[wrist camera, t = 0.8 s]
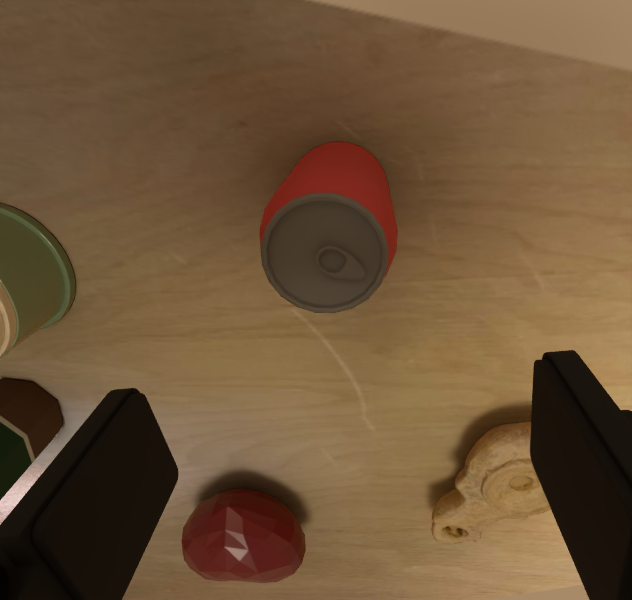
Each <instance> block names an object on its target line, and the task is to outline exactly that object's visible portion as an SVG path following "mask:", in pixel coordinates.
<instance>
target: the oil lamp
mask: <svg viewBox="0 0 632 600" xmlns="http://www.w3.org/2000/svg"><path fill="white" fill-rule="evenodd" d="M530 435H531V422H522V423H515V424H513V423H509V424H503V425H498V426H496V427H494V428H492V429H490V430H488V431H487V432H486V433H485V434H484V435H483V436H482V437H481V438H480V439H479V440H478V441H477V442H476V443H475V445H474V446H473V447H472V449H471V450H470V452H469V454H468V455H467V458H466V461H465V466H464V468H463V469H462V470H461V471H460V472H459V474H458V475H457V477H456V479H455V482H454V483H455V487H456V488H455V489H454V490H453V491H451V492H449V493H447V494H445V495H443V496H442V497H441V498H440V499H439V500H438V501H437V503H436V504H435V507H434V509H433V513H432V521H433V523H432V535H433V537H434V539H435V540H437V541H438V542H441V543H443V544H456V543H461V542H465V541H474V542H476V541H478V540H479V539H480V537H481V533H482V531H483V529H484V528H485V527H487V526H488V525H489V524H491V523H493V522H495V521H498V520H502V519H514V520H525V519H526V518H528V516H529V515H535V514H540V513H544V512H546V511H548V510H550V509H551V508H550V505H549V503H548V501H547V498H546V496H545V494H544V491H543V489H542V486H541V484H540V482H539V479H538V477H537V475H536V472H535V470H534V468H533V465H532V461H531V457H530Z"/></svg>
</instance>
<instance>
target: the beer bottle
mask: <svg viewBox="0 0 632 600" xmlns="http://www.w3.org/2000/svg"><path fill="white" fill-rule="evenodd" d="M62 426H63V420H62V416H61V413H60V409H59V405H58V402H57V400H56V399H54V398H53V397H52V396H51V395H49V394H48V393H47V392H45V391H44V390H43V389H41V388H40V387H39V386H37V385H36V384H35V383H33V382H29V381H21V380H13V379H5V378H4V379H0V500H1V499H2V497H3V496H4V495H5V494H6V493H7V492H8V491H9V489H10V488H11V487H12V486H13V485H14V484H15V482H16V481H17V480H18V479H19V478H20V477H21V475H22V474H23V473H24V472H25V471H26V470H27V468H28V467H29V466H30V465H31V464H32V463H33V461H34V460H35V459H36V458H37V457H38V456H39V454H40V453H41V452H42V451H43V450H44V449H45V447H46V446H47V445H48V444H49V443H50V442H51V440H52V439H53V438H54V437H55V435H56V434H57V433H58V431H59V430H60V429H61V427H62Z"/></svg>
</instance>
